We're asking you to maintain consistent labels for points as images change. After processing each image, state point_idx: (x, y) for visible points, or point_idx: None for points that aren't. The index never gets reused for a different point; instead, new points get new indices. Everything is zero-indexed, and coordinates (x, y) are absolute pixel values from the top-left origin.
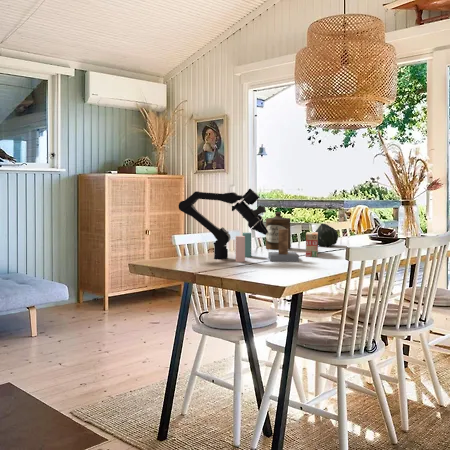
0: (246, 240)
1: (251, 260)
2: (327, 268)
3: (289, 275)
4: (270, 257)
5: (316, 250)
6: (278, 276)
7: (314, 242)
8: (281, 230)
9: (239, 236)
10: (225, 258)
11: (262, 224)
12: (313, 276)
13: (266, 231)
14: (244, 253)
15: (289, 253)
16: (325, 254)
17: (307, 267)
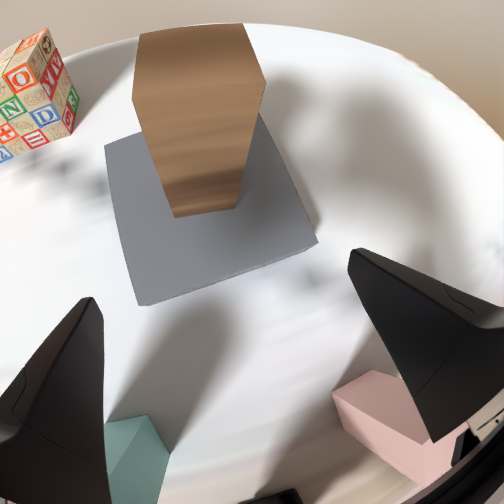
0: (139, 494)
1: (303, 367)
2: (365, 61)
3: (485, 153)
4: (309, 247)
5: (69, 82)
6: (500, 175)
7: (56, 63)
8: (254, 69)
9: (454, 445)
10: (296, 491)
11: (38, 428)
12: (464, 110)
13: (95, 324)
14: (398, 380)
15: None
16: None
17: (382, 100)
